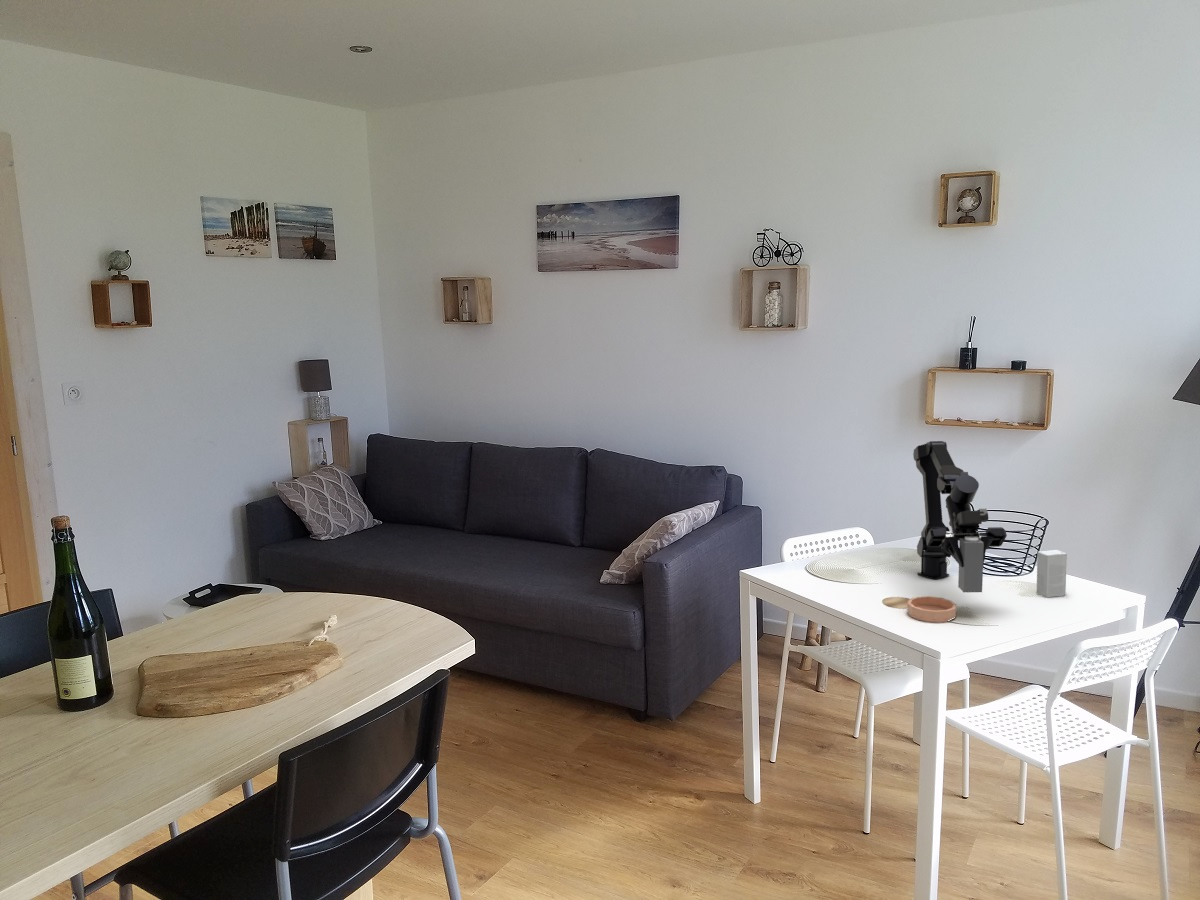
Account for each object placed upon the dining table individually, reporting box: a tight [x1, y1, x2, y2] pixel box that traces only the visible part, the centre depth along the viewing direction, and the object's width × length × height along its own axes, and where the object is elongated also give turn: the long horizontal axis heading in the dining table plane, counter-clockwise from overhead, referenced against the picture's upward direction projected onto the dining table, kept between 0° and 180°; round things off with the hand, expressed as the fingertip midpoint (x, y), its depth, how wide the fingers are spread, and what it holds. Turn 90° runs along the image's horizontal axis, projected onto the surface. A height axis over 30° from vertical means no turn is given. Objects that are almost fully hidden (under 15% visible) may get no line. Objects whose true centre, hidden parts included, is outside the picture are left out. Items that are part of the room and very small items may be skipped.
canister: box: [957, 536, 984, 593], centre depth 219 cm, size 4×4×14 cm
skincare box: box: [1036, 549, 1068, 599], centre depth 233 cm, size 6×4×12 cm
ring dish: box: [906, 595, 958, 624], centre depth 222 cm, size 12×12×3 cm
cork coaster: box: [881, 596, 910, 610], centre depth 232 cm, size 9×9×1 cm
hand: (972, 566), depth 218 cm, fingers closed on canister, 4 cm apart
